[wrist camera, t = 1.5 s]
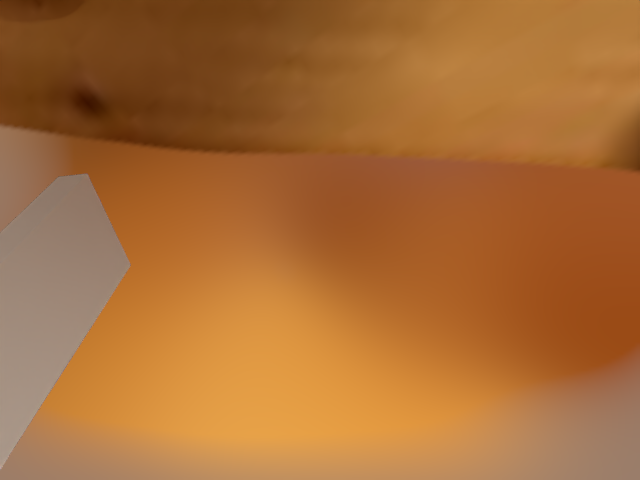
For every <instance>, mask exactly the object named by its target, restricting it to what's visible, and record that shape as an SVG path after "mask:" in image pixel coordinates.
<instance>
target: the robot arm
mask: <svg viewBox="0 0 640 480" xmlns="http://www.w3.org/2000/svg"><path fill="white" fill-rule="evenodd" d="M129 267H130V263H129V260H128V258H127V256H126V254H125V252H124V250H123V248H122V246H121V244H120V241H119V239H118V237H117V235H116V233H115V231H114V229H113V227H112V224H111V222H110V220H109V218H108V216H107V214H106V212H105V210H104V208H103V206H102V203H101V201H100V199H99V197H98V195H97V193H96V191H95V189H94V187H93V185H92V182H91V180H90V178H89V176H88V174H79V175H69V176H60V177H58V178H56V180H54V182H52V183H51V184H50V185H49V186H48V187H47V188H46V189H45V190H44V191H43V192H42V193H41V194H40V195H39V196H38V197H37V198H36V199H35V200H34V201H33V202H31V204H30V205H28V206H27V207H26V208H25V209H24V210H23V211H22V212H21V213H20V214H19V215H18V216H17V217H16V218H15V219H14V220H13V221H12V222H11V223H10V224H9V225H8V226H6V227H5V228H4V229H3V230H2V232H0V469H1V468H2V466H3V465H4V463H5V462H6V460H7V458H8V456H9V455H10V454H11V452H12V451H13V449H14V447H15V446H16V444H17V443H18V441H19V440H20V438H21V436H22V435H23V433H24V432H25V430H26V428H27V427H28V425H29V424H30V422H31V421H32V419H33V418H34V416H35V414H36V413H37V411H38V410H39V408H40V407H41V405H42V403H43V402H44V400H45V399H46V397H47V396H48V394H49V392H50V391H51V389H52V388H53V386H54V385H55V383H56V382H57V380H58V378H59V377H60V375H61V374H62V372H63V371H64V369H65V368H66V366H67V364H68V363H69V361H70V360H71V358H72V357H73V355H74V353H75V352H76V350H77V349H78V347H79V346H80V344H81V342H82V341H83V339H84V338H85V336H86V335H87V333H88V331H89V330H90V328H91V327H92V325H93V324H94V322H95V321H96V319H97V317H98V316H99V314H100V312H101V311H102V310H103V308H104V306H105V305H106V303H107V302H108V300H109V298H110V297H111V295H112V293H113V292H114V291H115V289H116V288H117V286H118V284H119V282H120V281H121V280H122V278H123V276H124V275H125V273H126V272H127V270H128V269H129Z"/></svg>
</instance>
